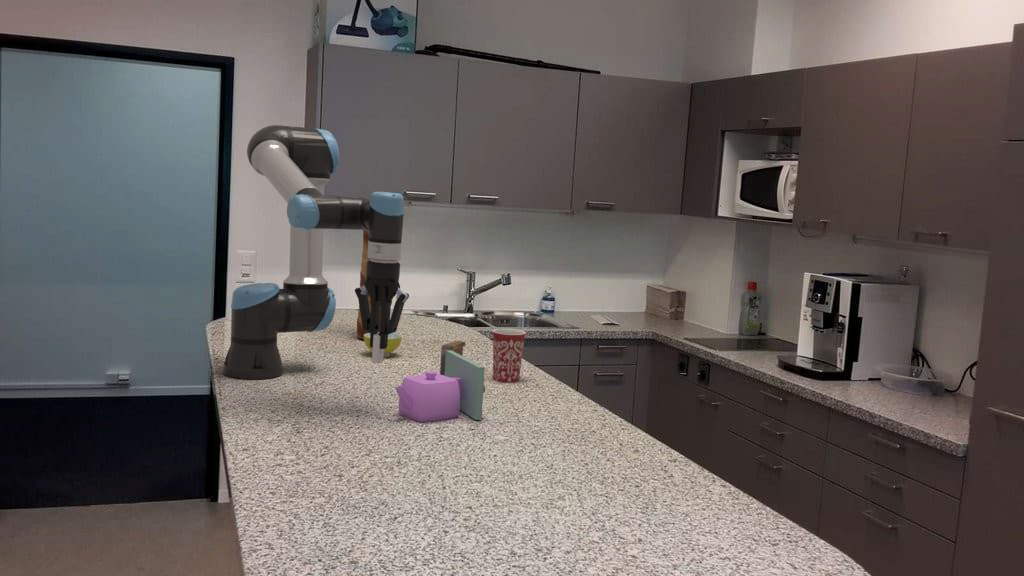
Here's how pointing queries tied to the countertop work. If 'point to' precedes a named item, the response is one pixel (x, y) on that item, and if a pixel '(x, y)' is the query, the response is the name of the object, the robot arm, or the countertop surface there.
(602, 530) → the countertop surface
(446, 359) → the door
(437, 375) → the teapot
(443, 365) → the doorframe
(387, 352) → the bowl
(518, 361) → the mug
